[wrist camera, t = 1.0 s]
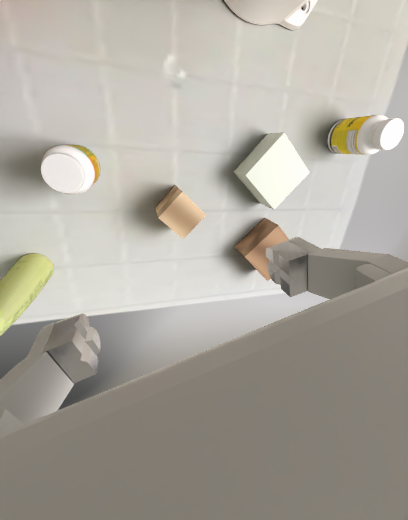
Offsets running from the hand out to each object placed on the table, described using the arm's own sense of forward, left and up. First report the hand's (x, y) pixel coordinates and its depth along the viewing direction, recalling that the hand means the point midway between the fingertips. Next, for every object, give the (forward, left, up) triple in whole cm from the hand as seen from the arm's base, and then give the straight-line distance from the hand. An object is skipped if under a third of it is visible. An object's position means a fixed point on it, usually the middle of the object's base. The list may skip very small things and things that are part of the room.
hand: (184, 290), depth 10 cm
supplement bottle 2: (-30, +19, -30) cm, 46 cm away
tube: (+21, -4, -30) cm, 37 cm away
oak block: (-1, +6, -30) cm, 31 cm away
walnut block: (-7, +24, -30) cm, 39 cm away
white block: (-16, +13, -30) cm, 36 cm away
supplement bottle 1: (+4, -8, -30) cm, 32 cm away
